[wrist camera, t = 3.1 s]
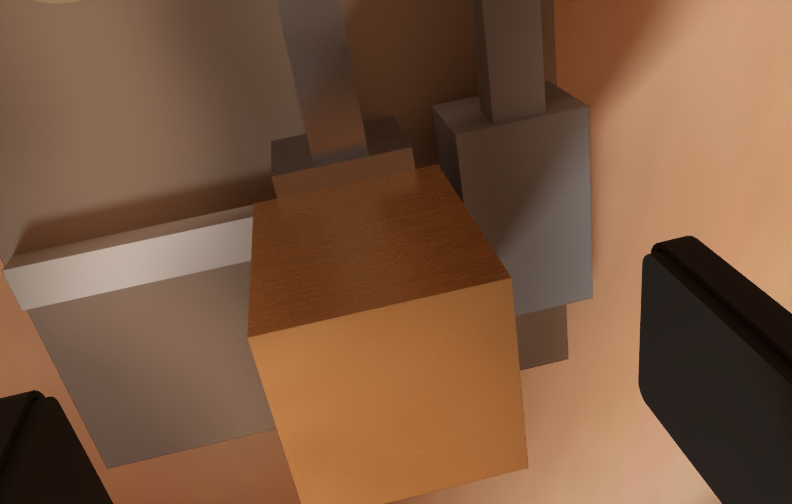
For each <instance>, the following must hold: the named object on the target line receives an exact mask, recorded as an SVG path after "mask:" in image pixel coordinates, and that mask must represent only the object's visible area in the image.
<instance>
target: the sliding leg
mask: <svg viewBox="0 0 792 504" xmlns="http://www.w3.org/2000/svg"><path fill="white" fill-rule="evenodd" d="M276 4H277V9H278V13H279V17H280V22H281V26H282V30H283V35H284V39H285V43H286V48H287V52H288V56H289V61H290V65H291V69H292V73H293V78H294V82H295V86H296V91H297V95H298V99H299V104H300V108H301V112H302V117H303V121H304V125H305V130H306V134H303V135H298V136H293V137H288V138H284V139H279V140H274V141H271V178H272V181H273V185H274V189H275V193H276V196H277V199H273V200H269V201H264V202H259V203H254V207H253V228H252V249H251V270H250V291H249V312H248V333H247V339H248V342H249V345H250V348H251V351H252V354H253V357H254V360H255V363H256V366H257V369H258V372H259V376H260V379H261V382H262V385H263V388H264V391H265V394H266V397H267V400H268V403H269V406H270V409H271V412H272V416H273V419H274V422H275V425H276V428H277V431H278V434H279V437H280V440H281V443H282V446H283V449H284V452H285V456H286V459H287V462H288V465H289V468H290V471H291V474H292V477H293V480H294V483H295V486H296V489H297V492H298V496H299V499H300V502H301V504H386V503H390V502H394V501H398V500H402V499H406V498H410V497H414V496H418V495H422V494H426V493H430V492H434V491H438V490H442V489H446V488H450V487H454V486H458V485H462V484H466V483H470V482H474V481H478V480H482V479H486V478H490V477H494V476H498V475H502V474H506V473H510V472H514V471H518V470H522V469H526V468H528V459H527V448H526V436H525V425H524V413H523V402H522V391H521V379H520V368H519V356H518V345H517V334H516V322H515V311H514V299H513V288H512V278H511V276H510V274H509V273H508V271H507V270H506V268H505V267H504V265H503V264H502V262H501V261H500V259H499V258H498V256H497V254H496V253H495V251H494V250H493V248H492V247H491V245H490V244H489V242H488V241H487V239H486V238H485V236H484V234H483V233H482V231H481V230H480V228H479V227H478V225H477V224H476V222H475V221H474V219H473V218H472V216H471V214H470V213H469V211H468V210H467V208H466V207H465V205H464V204H463V202H462V201H461V199H460V198H459V196H458V194H457V193H456V191H455V190H454V188H453V187H452V185H451V184H450V182H449V181H448V179H447V178H446V176H445V174H444V173H443V171H442V170H441V168H440V167H439V165H438V164H437V165H433V166H428V167H423V168H419V169H415V164H414V157H413V151H412V147H411V145H410V143H409V141H408V140H407V138H406V136H405V135H404V133H403V131H402V130H401V128H400V126H399V124H398V123H397V121H396V119H395V118H394V116H390V117H385V118H380V119H376V120H371V121H366V122H362V117H361V111H360V106H359V101H358V95H357V90H356V85H355V79H354V74H353V69H352V64H351V58H350V53H349V48H348V42H347V37H346V32H345V26H344V21H343V16H342V10H341V5H340V0H276Z"/></svg>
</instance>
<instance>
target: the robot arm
mask: <svg viewBox="0 0 792 504" xmlns="http://www.w3.org/2000/svg"><path fill="white" fill-rule="evenodd" d="M639 388H640V392H641V395H642V397H643V399H644V401H645V402H646V404H647V405H648V407H649V408H650V409H651V411H652V412H653V413H654V415H655V416H656V417H657V419H658V420H659V421H660V422H661V424H662V425H663V426H664V428H665V429H666V430H667V432H668V433H669V434H670V436H671V437H672V438H673V440H674V441H675V442H676V443H677V445H678V446H679V447H680V449H681V450H682V451H683V453H684V454H685V455H686V457H687V458H688V459H689V461H690V462H691V463H692V465H693V466H694V467H695V468H696V470H697V471H698V472H699V474H700V475H701V476H702V478H703V479H704V480H705V482H706V483H707V484H708V486H709V487H710V488H711V489H712V491H713V492H714V493H715V495H716V496H717V497H718V499H719V500H720V501H721V503H722V504H792V314H791V313H790V312H789V311H788V310H786V309H785V308H784V307H782V306H781V305H780V304H779V303H777V302H776V301H775V300H774V299H772V298H771V297H770V296H769V295H767V294H766V293H765V292H764V291H762V290H761V289H760V288H759V287H757V286H756V285H755V284H753V283H752V282H751V281H750V280H748V279H747V278H746V277H745V276H743V275H742V274H741V273H740V272H738V271H737V270H736V269H735V268H733V267H732V266H731V265H729V264H728V263H727V262H726V261H724V260H723V259H722V258H721V257H719V256H718V255H717V254H716V253H714V252H713V251H712V250H711V249H709V248H708V247H707V246H706V245H704V244H703V243H702V242H700V241H699V240H698V239H697V238H695V237H693V236H685V237H681V238H677V239H672V240H668V241H664V242H660V243H656V244H655V245H654V246H653V248H652V250H651V254H648V255H646V256H645V257H644V259H643V264H642V292H641V321H640V351H639ZM0 504H113V502H112V500H111V499H110V497H109V495H108V493H107V491H106V489H105V487H104V486H103V484H102V482H101V480H100V478H99V476H98V474H97V473H96V471H95V469H94V467H93V465H92V463H91V461H90V459H89V458H88V456H87V454H86V452H85V450H84V448H83V446H82V445H81V443H80V441H79V439H78V437H77V435H76V433H75V432H74V430H73V428H72V426H71V424H70V422H69V420H68V419H67V417H66V415H65V413H64V411H63V409H62V407H61V406H60V404H59V402H58V401H57V399H55V398H54V397H46V398H45V397H44V395H43V394H42V393H40V392H39V391H35V390H34V391H30V392H25V393H21V394H17V395H13V396H8V397H4V398H0Z"/></svg>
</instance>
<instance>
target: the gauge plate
mask: <svg viewBox="0 0 792 504" xmlns="http://www.w3.org/2000/svg"><path fill="white" fill-rule="evenodd" d="M340 5H341V10H342V16H343V21H344V26H345V32H346V37H347V42H348V48H349V53H350V58H351V64H352V69H353V74H354V79H355V85H356V90H357V95H358V101H359V106H360V111H361V117H362V122H366V121H371V120H376V119H380V118H385V117H390V116H394V118H395V119H396V121H397V123H398V124H399V126H400V128H401V130H402V131H403V133H404V135H405V136H406V138H407V140H408V141H409V143H410V145H411V147H412V151H413V157H414V164H415V169H419V168H423V167H428V166H433V165H437V164H438V165H439V167H440V168H441V170H442V171H443V173H444V174H445V176H446V178H447V179H448V181H449V182H450V184H451V185H452V187H453V188H454V190H455V191H456V193H457V194H458V196H459V198H460V199H461V201H462V202H463V204H464V205H465V207H466V208H467V210H468V211H469V213H470V214H471V216H472V218H473V219H474V221H475V222H476V224H477V225H478V227H479V228H480V230H481V231H482V233H483V234H484V236H485V238H486V239H487V241H488V242H489V244H490V245H491V247H492V248H493V250H494V251H495V253H496V254H497V256H498V258H499V259H500V261H501V262H502V264H503V265H504V267H505V268H506V270H507V271H508V273H509V274H510V276H511V278H512V288H513V299H514V311H515V322H516V334H517V345H518V356H519V368H520V370H524V369H529V368H533V367H537V366H541V365H545V364H550V363H554V362H558V361H562V360H566V359H568V338H567V315H566V304H569V303H574V302H578V301H582V300H587V299H591V298H593V284H592V234H591V185H590V135H589V106H587V105H585V104H584V103H582V102H581V101H579V100H577V99H576V98H574V97H573V96H571V95H570V94H568V93H566V92H565V91H563V90H562V89H560V88H559V87H557V84H556V61H555V38H554V14H553V0H340ZM303 134H306V130H305V125H304V121H303V117H302V112H301V108H300V104H299V99H298V95H297V91H296V86H295V82H294V78H293V73H292V69H291V65H290V61H289V56H288V52H287V48H286V43H285V39H284V35H283V30H282V26H281V22H280V17H279V13H278V9H277V4H276V0H0V258H1V260H2V262H3V264H4V266H5V267H4V268H3V270H2V272H3V274H4V276H5V278H6V280H7V282H8V284H9V286H10V288H11V290H12V292H13V294H14V296H15V298H16V300H17V302H18V304H19V306H20V308H21V309H22V311H23V310H27V311H28V313H29V315H30V317H31V319H32V321H33V323H34V325H35V327H36V329H37V331H38V333H39V335H40V337H41V339H42V341H43V343H44V345H45V347H46V349H47V351H48V353H49V355H50V357H51V359H52V361H53V363H54V365H55V367H56V369H57V371H58V373H59V375H60V377H61V379H62V381H63V383H64V385H65V386H66V388H67V390H68V392H69V394H70V396H71V398H72V400H73V402H74V404H75V406H76V408H77V410H78V412H79V414H80V416H81V418H82V420H83V422H84V424H85V426H86V428H87V430H88V432H89V434H90V436H91V438H92V440H93V442H94V444H95V446H96V448H97V450H98V452H99V454H100V456H101V458H102V460H103V461H104V463H105V465H106V467H107V469H109V468H113V467H117V466H122V465H126V464H130V463H134V462H138V461H143V460H147V459H151V458H155V457H159V456H163V455H168V454H172V453H176V452H180V451H184V450H189V449H193V448H197V447H201V446H205V445H210V444H214V443H218V442H222V441H226V440H231V439H235V438H239V437H243V436H247V435H252V434H256V433H260V432H264V431H268V430H273V429H277V428H276V425H275V422H274V419H273V416H272V412H271V409H270V406H269V403H268V400H267V397H266V394H265V391H264V388H263V385H262V382H261V379H260V376H259V372H258V369H257V366H256V363H255V360H254V357H253V354H252V351H251V348H250V345H249V342H248V339H247V333H248V312H249V291H250V270H251V249H252V228H253V207H254V203H259V202H264V201H269V200H273V199H277V196H276V193H275V189H274V185H273V181H272V178H271V141H274V140H279V139H284V138H288V137H293V136H298V135H303Z"/></svg>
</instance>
